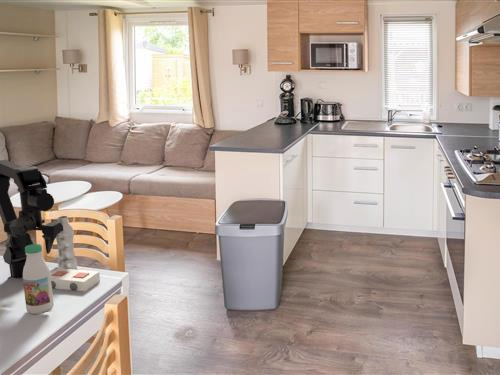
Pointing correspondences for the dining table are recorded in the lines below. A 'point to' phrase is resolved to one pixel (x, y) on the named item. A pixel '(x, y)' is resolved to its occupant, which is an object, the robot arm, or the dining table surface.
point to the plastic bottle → (66, 245)
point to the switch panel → (74, 279)
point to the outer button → (81, 275)
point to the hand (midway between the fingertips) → (36, 252)
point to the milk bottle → (37, 281)
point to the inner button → (60, 273)
